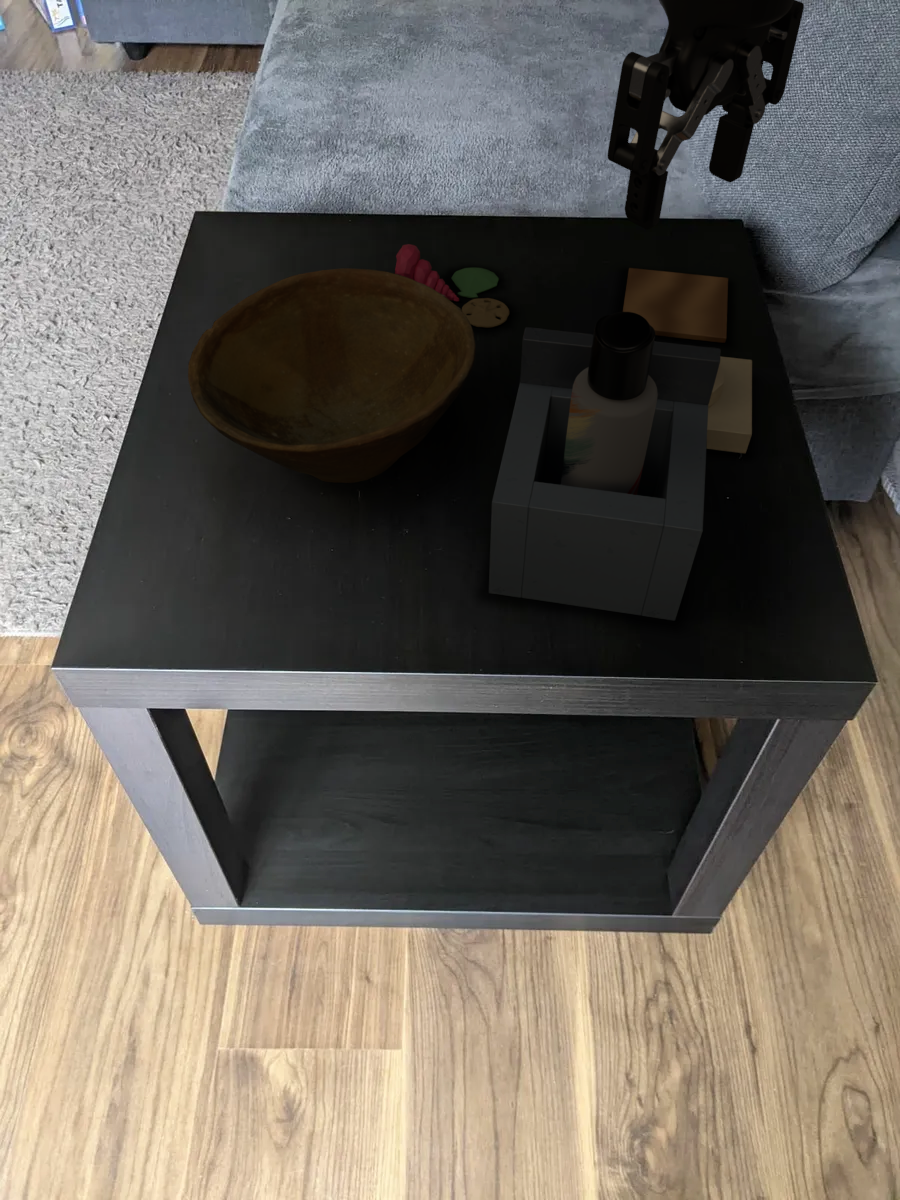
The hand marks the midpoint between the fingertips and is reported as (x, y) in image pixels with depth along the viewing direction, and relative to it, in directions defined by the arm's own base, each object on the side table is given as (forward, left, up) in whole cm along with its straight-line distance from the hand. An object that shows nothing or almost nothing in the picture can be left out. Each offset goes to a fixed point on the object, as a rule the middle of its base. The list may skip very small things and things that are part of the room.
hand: (683, 199), depth 62 cm
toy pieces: (+20, -19, -23) cm, 36 cm away
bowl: (+25, +3, -23) cm, 34 cm away
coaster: (-2, -22, -23) cm, 32 cm away
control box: (-3, -7, -23) cm, 24 cm away
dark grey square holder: (+3, +10, -23) cm, 25 cm away
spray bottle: (+3, +10, -23) cm, 25 cm away
